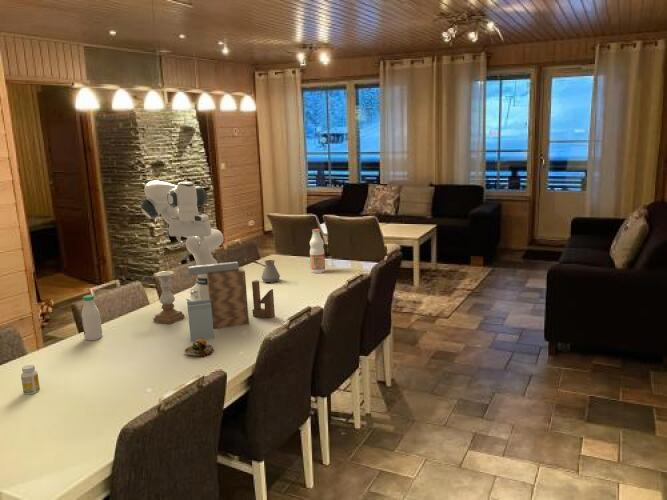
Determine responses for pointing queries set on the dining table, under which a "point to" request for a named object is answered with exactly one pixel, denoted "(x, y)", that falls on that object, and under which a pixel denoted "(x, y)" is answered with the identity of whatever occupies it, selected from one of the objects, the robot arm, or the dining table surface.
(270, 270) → the coffee pot
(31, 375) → the supplement bottle
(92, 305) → the milk bottle
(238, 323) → the brown tall rectangular box
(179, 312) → the candle holder
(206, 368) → the dining table surface
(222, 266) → the bar
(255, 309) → the wooden block
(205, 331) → the block
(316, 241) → the fruit juice
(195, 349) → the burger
